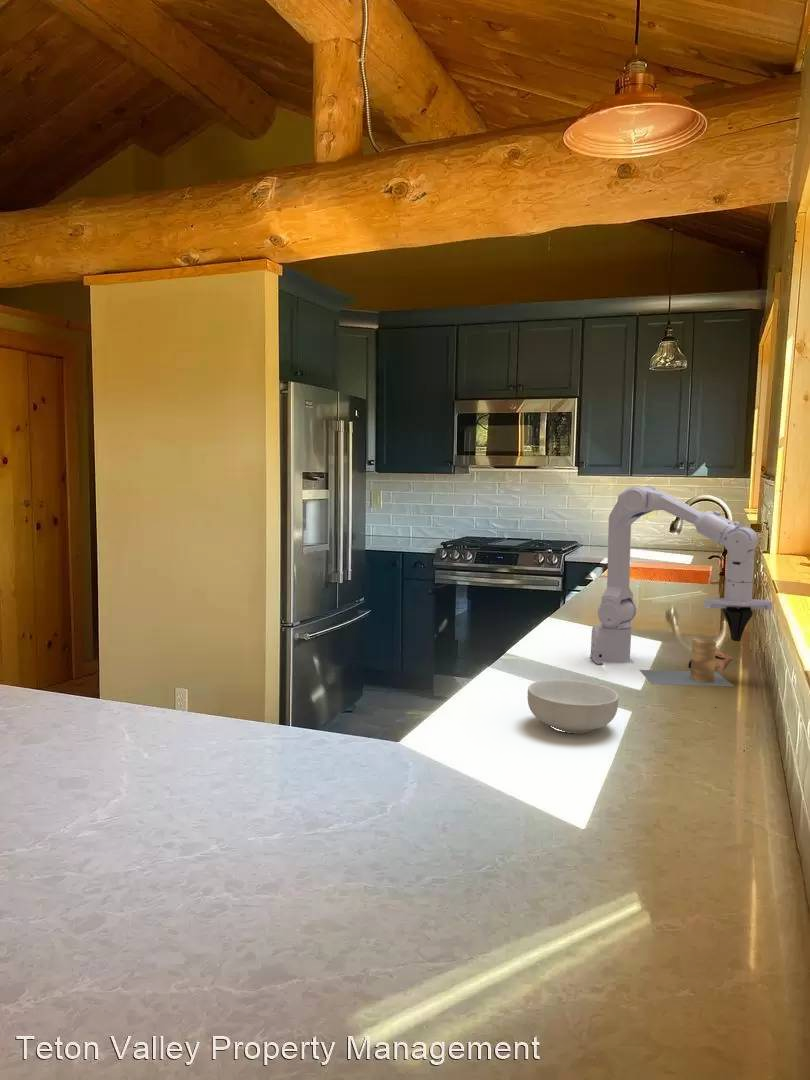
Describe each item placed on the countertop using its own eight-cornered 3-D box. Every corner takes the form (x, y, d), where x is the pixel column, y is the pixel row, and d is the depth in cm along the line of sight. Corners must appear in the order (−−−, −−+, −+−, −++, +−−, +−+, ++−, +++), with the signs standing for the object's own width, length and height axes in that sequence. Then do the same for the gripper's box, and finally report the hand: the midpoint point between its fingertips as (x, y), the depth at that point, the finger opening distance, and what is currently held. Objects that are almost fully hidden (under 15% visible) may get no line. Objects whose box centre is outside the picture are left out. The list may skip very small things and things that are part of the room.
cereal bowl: (619, 746, 140) (621, 707, 140) (524, 738, 144) (525, 700, 143) (614, 716, 157) (616, 681, 156) (528, 709, 160) (529, 675, 159)
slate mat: (652, 686, 178) (652, 683, 178) (638, 672, 190) (638, 669, 190) (734, 688, 177) (734, 686, 177) (715, 674, 189) (715, 671, 189)
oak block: (695, 681, 181) (698, 642, 180) (690, 676, 185) (692, 638, 184) (713, 682, 180) (716, 642, 179) (707, 677, 184) (710, 638, 183)
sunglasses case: (725, 674, 189) (711, 649, 190) (698, 685, 192) (684, 660, 193) (735, 659, 204) (722, 635, 205) (710, 669, 208) (697, 646, 209)
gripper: (712, 582, 176) (709, 643, 178) (779, 584, 176) (775, 645, 177) (702, 578, 183) (698, 636, 185) (766, 579, 183) (762, 638, 184)
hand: (735, 640), depth 181 cm, fingers closed
